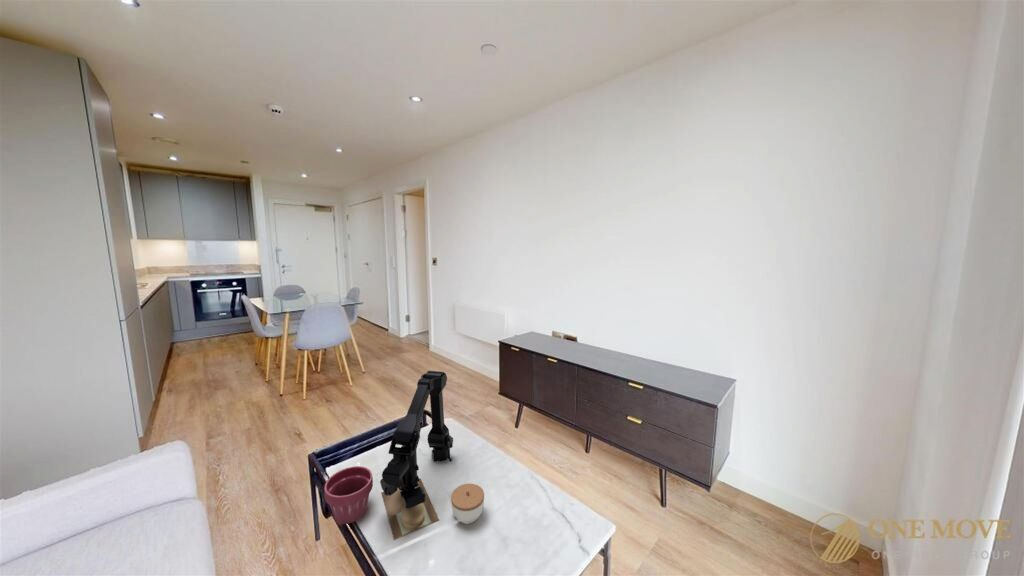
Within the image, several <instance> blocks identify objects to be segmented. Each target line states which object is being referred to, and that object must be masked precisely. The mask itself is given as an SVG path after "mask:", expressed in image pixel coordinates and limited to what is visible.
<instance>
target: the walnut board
mask: <svg viewBox="0 0 1024 576" xmlns="http://www.w3.org/2000/svg"><path fill="white" fill-rule="evenodd" d="M417 483H418V485H419V487H422V488H423V490H424V492H425V495H426V500H425V502H423V504H424V516H425V519H424V522H423V523H422V525H421V526H419V527H418V528H416V529H411V530H409V529H405V528H404V527H403V526H402V517H401V510H402V508H403V506H404V501H403V498H402V496H401V493H400V492H401V490H399V488H397V491H396V492H395V493H394V494H392V495H391V496H389V495H388V496H386V495H385V493H384V491H381V492H380V493H381V497H382V500H383V505H384V507H385V512H386V514H387V515H386V516H387V519H388V523H389V526H390V530H391V534H392V537H393V541H396V540H398V539H400V538H402V537H404V536H407V535H409V534H412V533H414V532H416V531H419V530H421V529H423V528H425V527H427V526H430V525H432V524H434V523H437V522H439V521H440V518H439V516H438V514H437V512H436V509H435V508H434V505H433V503H432V501H431V498H430V497H429V496H430V495H429V494H428V492H427V490H426V486H425V485H424V483H423V481H422V479H421V478H419V482H417Z"/></svg>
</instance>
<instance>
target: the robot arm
mask: <svg viewBox="0 0 1024 576" xmlns="http://www.w3.org/2000/svg"><path fill="white" fill-rule="evenodd" d="M447 381H448V376H447V373H446V372H445V371H437V370H428V371H426V373H423V374H422V375H421V376H420V378H419V379H418V381H417V384H416V385H417V387H416V390H415V392H414V395H413V397H412V400H411V402H410V405H409V408H408V410H407V412H406V413H407V414H406V415H405V416H404V418H402V420H400V421H399V423H398V424H397V426H396V428H395V429H394V431H393V433H392V434H393V435H392V439H391V441H390V446H389V450H388V454H389V455H392V458H391V459H390V461H388V462H387V465H386V466H385V468H384V469H383V471H382V472H381V477H382V478H381V479H380V481H379V483H380V487H381V489H382V492H384V493H385V495H386V496H388V495H389V496H391V495H392V494H394V493H395V492H396V491H397V488H399V490H401V492H400V493H401V496H402V498H403V501H404V505H405V507H406V508H411V507H413V506H416V505H418V504H421V503H423V502H425V500H426V495H425V492H424V490H423V488H422V487H419V485H418V483H417V482H419V479H420V478H419V475H418V471H419V470H420V469H419V467H420V466H419V465H418V459H417V458H418V457H417V449H418V445H419V443H420V442H419V441H420V440H421V439H420V438H421V431H422V430H421V424H420V423H421V418H422V416H423V412H424V411H425V408H426V404H427V402H428V399H429V401H430V403H429V404H430V416H431V417H430V418H431V428H430V430H429V432H428V434H427V444H428V447H429V449H431V448H432V450H431V460H432V461H433V462H435V463H436V462H445V461H447V460H449V462H452V460H453V459H452V458H451V448H453V445H454V438H453V436H452V435H450V429H449V428H448V426H447V425H446V424H445V417H444V416H445V412H444V411H445V410H444V396H443V391H444V389H445V387H446V386H447ZM396 445H397V446H396ZM398 445H399V446H401V447H398Z"/></svg>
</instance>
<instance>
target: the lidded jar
mask: <svg viewBox="0 0 1024 576" xmlns="http://www.w3.org/2000/svg"><path fill="white" fill-rule="evenodd" d="M450 502H451V509H452V513H453V515H454V518H456V520H457V521H459V522H460V523H461V524H463V525H469V524H472V523H474V522H475V521H476V520H478V519H479V517H480V515H481V514H482V512H483V509H484V504H485V491H484V490H483V488H482V487H481V486H479V485H478V484H475V483H465V484H460V485H459V486H457V487H456V488H455V489H453V491H452V492H451V496H450Z"/></svg>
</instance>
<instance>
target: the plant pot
mask: <svg viewBox="0 0 1024 576" xmlns="http://www.w3.org/2000/svg"><path fill="white" fill-rule="evenodd" d="M373 479H374V478H373V473H372V471H371V470H370V469H369V468H367V467H366V466H363V465H362V466H361V465H360V466H358V465H357V466H356V465H355V466H350V467H346V468H343V469H341V470H340V469H339V470H338V471H337V472H335V473H334V474H332V475H331V476H330V477H329V478H328V479H327V480H326V482H325V484H324V488H323V489H324V490H323V491H324V500H325V503H326V504H327V505H329V506H330V509H331V510H330V511H331V512H332V515H333V517H334V518H333V519H334V521H335V522H336V525H338V526H340V527H343V525H348V524H352V523H354V522H356V521H358V520H360V518H362V517H363V516H364V515H365V513H366V511H367V509H368V503H369V497H370V493H371V491H372V490H373V486H374V485H373V483H374V480H373Z"/></svg>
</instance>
